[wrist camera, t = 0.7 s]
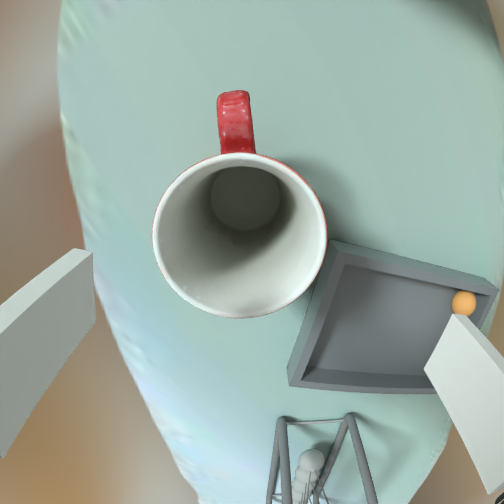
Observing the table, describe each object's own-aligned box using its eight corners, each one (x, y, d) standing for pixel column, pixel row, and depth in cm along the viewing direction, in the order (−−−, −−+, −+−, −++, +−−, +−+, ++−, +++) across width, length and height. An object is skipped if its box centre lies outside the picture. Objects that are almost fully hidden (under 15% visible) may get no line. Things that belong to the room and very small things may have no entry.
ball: (453, 283, 30) (467, 295, 27) (470, 287, 31) (484, 299, 28) (442, 307, 32) (455, 321, 29) (460, 310, 32) (473, 323, 29)
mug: (294, 243, 30) (320, 319, 17) (199, 243, 30) (161, 318, 17) (297, 108, 26) (332, 80, 13) (195, 109, 26) (143, 85, 13)
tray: (329, 239, 30) (337, 250, 26) (484, 278, 31) (498, 289, 28) (286, 367, 35) (288, 386, 32) (432, 378, 36) (441, 393, 33)
